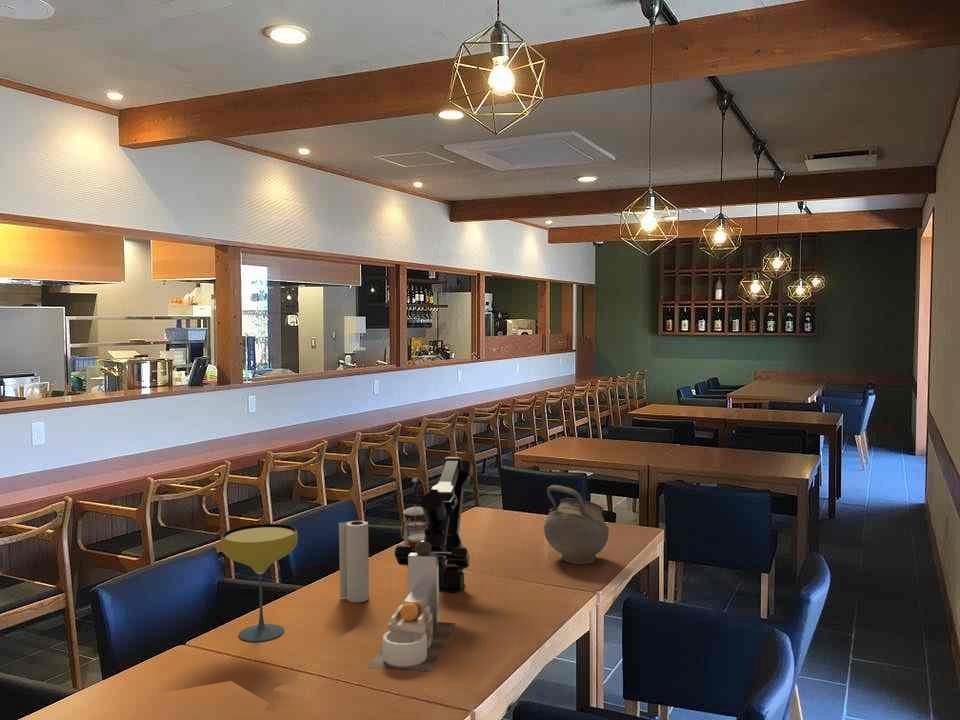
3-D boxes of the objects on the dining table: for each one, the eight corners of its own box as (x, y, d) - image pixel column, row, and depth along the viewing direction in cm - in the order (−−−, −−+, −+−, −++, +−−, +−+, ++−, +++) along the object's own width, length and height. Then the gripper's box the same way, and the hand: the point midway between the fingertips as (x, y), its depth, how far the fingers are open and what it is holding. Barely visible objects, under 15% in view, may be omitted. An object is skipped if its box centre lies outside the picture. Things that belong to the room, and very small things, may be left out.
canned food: (404, 574, 238) (403, 538, 238) (415, 567, 245) (415, 532, 245) (426, 577, 235) (426, 541, 235) (438, 569, 242) (437, 534, 242)
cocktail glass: (219, 626, 197) (217, 528, 196) (292, 615, 205) (290, 520, 204) (226, 653, 181) (224, 546, 180) (305, 640, 188) (303, 537, 187)
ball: (397, 622, 177) (397, 604, 177) (406, 616, 181) (405, 599, 181) (412, 624, 176) (412, 607, 175) (421, 618, 179) (421, 601, 179)
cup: (375, 662, 172) (374, 640, 172) (397, 646, 181) (397, 625, 181) (413, 670, 168) (413, 647, 168) (434, 653, 177) (434, 631, 177)
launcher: (400, 624, 197) (400, 586, 197) (455, 627, 195) (454, 589, 195) (366, 673, 170) (366, 629, 169) (429, 677, 168) (429, 632, 167)
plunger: (412, 622, 195) (411, 537, 194) (439, 623, 194) (438, 538, 193) (398, 643, 182) (397, 553, 181) (427, 645, 181) (426, 554, 180)
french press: (436, 551, 263) (435, 476, 262) (415, 559, 253) (414, 482, 252) (412, 546, 268) (411, 474, 267) (391, 555, 258) (390, 479, 257)
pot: (564, 573, 238) (563, 491, 237) (532, 555, 256) (532, 479, 255) (621, 564, 246) (621, 485, 245) (587, 548, 265) (586, 474, 264)
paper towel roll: (373, 599, 217) (372, 522, 216) (356, 604, 212) (355, 526, 211) (357, 593, 221) (356, 518, 221) (340, 598, 217) (338, 522, 216)
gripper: (475, 548, 211) (468, 603, 200) (407, 546, 214) (397, 600, 203) (469, 526, 203) (462, 582, 192) (399, 524, 206) (388, 579, 195)
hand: (427, 586), depth 196 cm, fingers closed
